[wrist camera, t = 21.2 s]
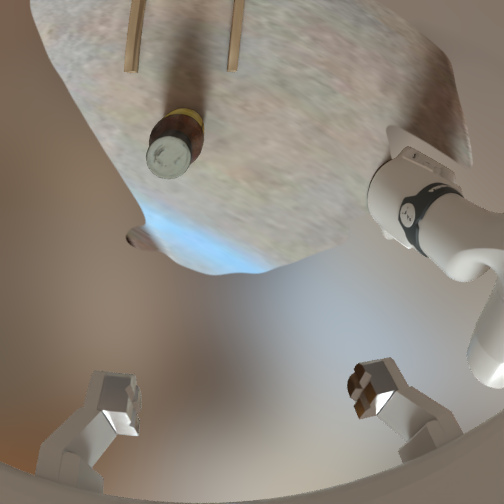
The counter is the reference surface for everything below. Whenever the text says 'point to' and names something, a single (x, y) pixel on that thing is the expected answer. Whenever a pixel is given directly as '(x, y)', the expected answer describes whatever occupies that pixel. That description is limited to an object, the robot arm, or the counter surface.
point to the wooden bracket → (136, 31)
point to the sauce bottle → (175, 143)
